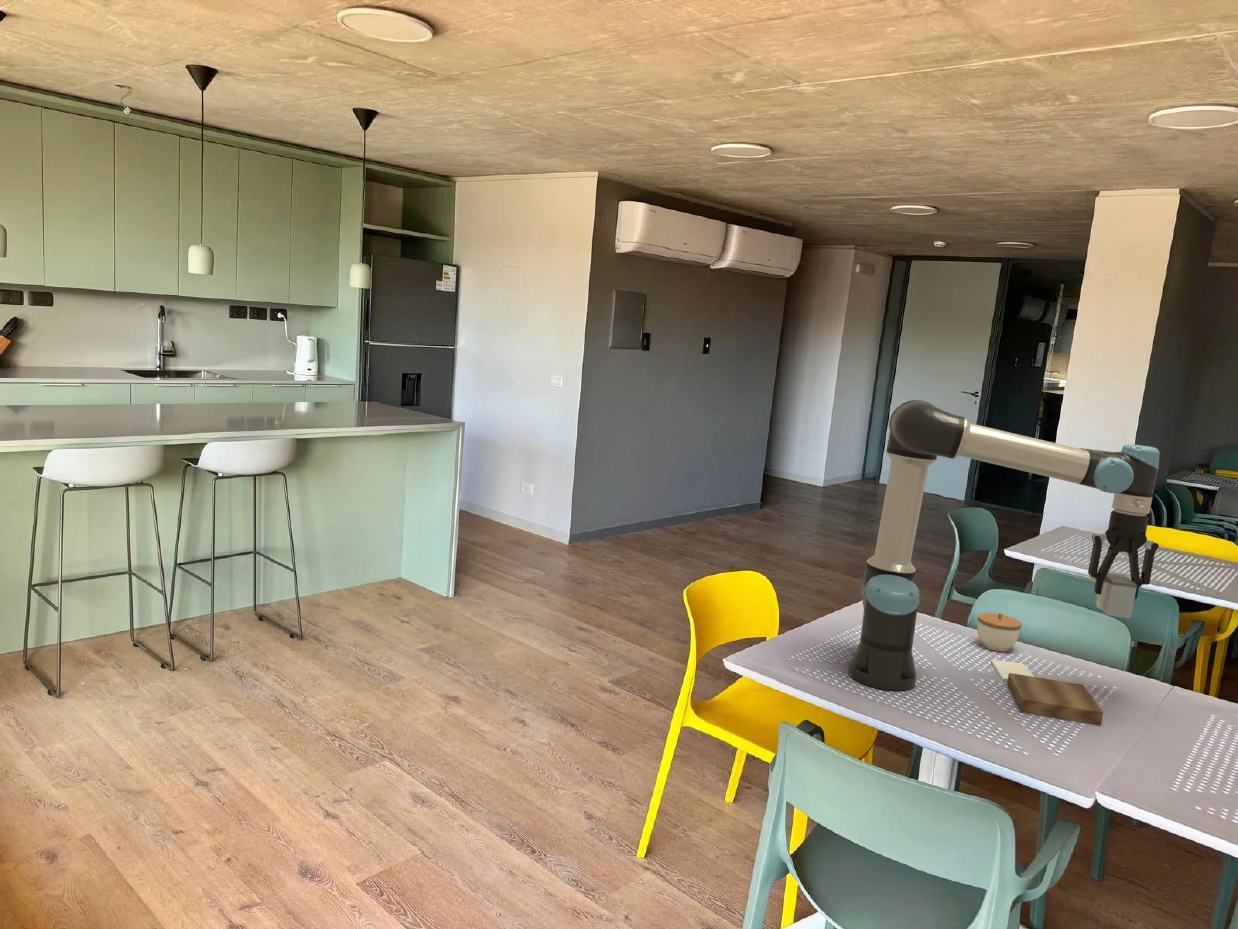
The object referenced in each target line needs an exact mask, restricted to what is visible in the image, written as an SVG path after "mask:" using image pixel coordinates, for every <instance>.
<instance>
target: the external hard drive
mask: <svg viewBox="0 0 1238 929" xmlns="http://www.w3.org/2000/svg"><path fill="white" fill-rule="evenodd" d="M990 665H991V666H992V668H993V670H994V671H995V672H996V674H997V675H998V677H999V679H1000V680H1001V682H1002V683H1007V682H1008V675H1009V673H1013V674H1019V675H1026V676H1032V677H1035V676H1034V675H1033V673H1032V672H1031V671H1030V669H1029V668H1028V666H1027V665H1026V664H1025V663H1019V662H1013V661H1006V660H1005V661H1004V660H998V659H991V660H990Z"/></svg>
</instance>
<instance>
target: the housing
mask: <svg viewBox="0 0 1238 929" xmlns="http://www.w3.org/2000/svg"><path fill="white" fill-rule="evenodd" d="M1105 581H1106V582H1107V589H1106V594H1105V600H1104V606H1103V610H1102V609H1100V610H1101V611H1102V612H1103V613H1104V614H1105V615H1106V616H1109V617H1110V616H1111V617H1117V618H1125V619H1132V616H1133V614H1132V613H1133V608H1134V602H1135V600H1136V599H1135V593H1136V588H1137V584H1135V583H1134V582H1133V581H1131V578H1129V577H1127V576H1126V575H1125V574H1120V573H1113V572H1108V574H1107V576H1106V578H1105ZM1097 596H1098V594H1096V596H1095V602H1094V604H1095V605H1096V602H1097Z"/></svg>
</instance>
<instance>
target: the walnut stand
mask: <svg viewBox="0 0 1238 929" xmlns="http://www.w3.org/2000/svg"><path fill="white" fill-rule="evenodd" d="M1006 683H1007V684H1006V685H1007V688H1008V690H1009V692H1010V694H1011V696H1012V697H1013V700H1014V702H1015V704H1016V706H1017V708H1018V710H1019V712H1020V713H1023V714H1029V715H1034V716H1035V715H1036V716H1040V717H1046V718H1053V719H1059V720H1065V721H1071V722H1075V723H1076V722H1077V723H1083V724H1089V725H1095V726H1102V721H1103V715H1104V711H1103V710H1102V708H1101V707H1100V706H1099V704H1098V703H1097V702H1096V701H1095V698H1093V696H1092V695H1091V693H1090V692H1089V691H1088V689H1087V688H1086V686H1084V684H1081V683H1075V682H1069V681H1063V680H1057V679H1050V678H1043V677H1037V676H1034V677H1032V676H1026V675H1019V674H1013V673H1009V675H1008V682H1006Z"/></svg>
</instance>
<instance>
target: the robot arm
mask: <svg viewBox="0 0 1238 929" xmlns="http://www.w3.org/2000/svg"><path fill="white" fill-rule="evenodd" d="M889 417H890V418H889V423H888V426H889V433H888V440H887V446H886V450H885V451H886V452H885V453H886V454H887V456H888V457H889V459H890V466H889V472H888V478H887V483H886V488H885V489H886V490H885V494H884V499H883V506H882V512H881V516H880V521H879V522H880V523H879V527H878V534H877V540H876V545H875V550H874V554H873V555H872V556H870V557H869V558H868V559H867V560H866V565H865V569H864V570H865V571H864V575H863V577H862V580H861V581H860V585H859V593H860V597H861V598H860V599H861V601H862V605H863V606H862V607H863V616H862V625H861V632H860V640H859V643H858V646H856V650H855V651H854V654H853V655H852V657H851V659H850V661H849V666H848V674H849V675H850V674H851V676H852V677H853V678H855V679H856V680H855V679H854V680H855V681H857V680H858V681H860V682H862V683H861V684H862V685H865V684H867V685H866V686H868V685H869V686H868V687H871V686H872V687H871V688H874V687H875V688H874V689H879V688H880V689H879V690H884V689H885V691H896V692H897V691H901V692H902V691H908V690H911V689H913V688H914V687H915V686H916V683H917V670H916V666H915V660H914V656H913V644H914V637H915V631H916V630H915V629H916V623H917V622H916V620H917V614H918V608H919V605H920V590H919V587H918V585H917V584H916V583H915V582H914V581H915V577H916V576H915V575H916V570H917V569H916V567H915V566H914V565H913V564H912V556H913V551H914V547H915V546H914V545H915V539H916V535H917V529H918V523H919V518H920V512H921V508H922V503H923V496H924V490H925V486H926V480H927V476H928V469H929V466H930V465H932V464H933V463H935V462H936V461H937V460H938V459H937V458H938V457H943V458H947V459H951V460H955V459H957V458H958V457H963V458H967V459H971V460H976V461H981V462H985V463H988V464H992V465H998V466H1001V467H1005V468H1010V469H1015V470H1018V471H1022V472H1027V473H1031V474H1034V475H1035V474H1036V475H1039V476H1044V477H1048V478H1050V479H1051V478H1052V479H1057V480H1059V481H1064V482H1069V483H1072V484H1078V485H1082V486H1084V487H1087V488H1088V487H1089V488H1093V489H1096V490H1099V491H1101V492H1103V493H1109V494H1113V499H1112V504H1111V505H1112V506H1111V508H1112V509H1113V510H1112V511H1110V515H1109V516H1110V517H1109V522H1108V528H1107V530H1106V531H1105V533H1102V534H1101V533H1099V534H1096V533H1093V534H1092V535H1091V539H1092V549H1091V554H1090V558H1089V566H1088V568H1087V569H1088V571H1087V574H1088V575H1089V576H1090V577H1092V578H1094V579H1095V584H1094V588H1093V591H1094V593H1095V594H1096V596H1097V594H1098V596H1097V602H1096V604H1095V606H1096V607H1097V608H1098V610H1101V609H1102V610H1103V606H1104V600H1105V594H1106V589H1107V582H1106V581H1105V578H1106V576H1107V574H1108V573H1109V572H1110V569H1111V567H1112V566H1113V563H1114V561H1115V559H1116V557H1117V556H1118V554H1119V553H1127V555H1128V564H1129V572H1130V580H1131V581H1133V582H1134V583H1135V584H1137V588H1136V593H1135V599H1134V600H1137V599H1138V596H1139V590H1140V588H1141V586H1143V585H1144V586H1145V585H1147V586H1148V585H1150V583H1151V577H1152V571H1153V567H1154V559H1155V554H1156V552H1157V550H1158V549H1159V548H1160V545H1159V544H1158V543H1157V542H1155V541H1154V540H1149V539H1148V537H1147V528H1148V524H1149V519H1150V518H1149V516H1148V514H1150V512H1151V506H1152V501H1153V495H1154V490H1155V484H1156V481H1157V476H1158V471H1159V465H1160V450H1159V449H1158V448H1157V447H1154V446H1147V445H1142V444H1129V443H1126V444H1124V445H1123V446H1122V448H1121V450H1120V451H1107V450H1100V449H1099V450H1098V449H1089V448H1083V447H1074V446H1069V445H1066V444H1060V443H1056V442H1053V441H1047V440H1044V439H1039V438H1035V437H1031V436H1027V435H1021V434H1018V433H1012V432H1009V431H1005V430H1001V429H997V428H992V427H988V426H983V425H979V424H975V423H971V422H969V421H968V419H967V417H965V416H961V415H957V414H953V413H950V412H948V411H945V410H943V409H941V408H939V407H937V406H935V405H933V404H932V403H931V402H928V401H925V400H922V399H912V400H907V401H905V402H902V403H901V404H899V405H898V406H897V407H895V409H894V410H893V412H892V413H891V414H890V416H889ZM1105 540H1107V542H1108V545H1109V546H1108V547H1107V551H1106V554H1105V556H1104V558H1103V561H1102V562H1101V565H1100V561H1101V560H1100V559H1101V555H1102V550H1103V545H1104V544H1105ZM1143 545H1144V548H1145V549H1144V550H1145V551H1144V556H1143V562H1142V566H1141V572H1140V565H1139V549H1140V548H1142V546H1143ZM1102 610H1101V611H1102ZM851 676H850V677H851ZM852 677H851V678H852ZM853 678H852V679H853ZM858 681H857V682H858ZM860 682H859V683H860Z"/></svg>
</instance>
